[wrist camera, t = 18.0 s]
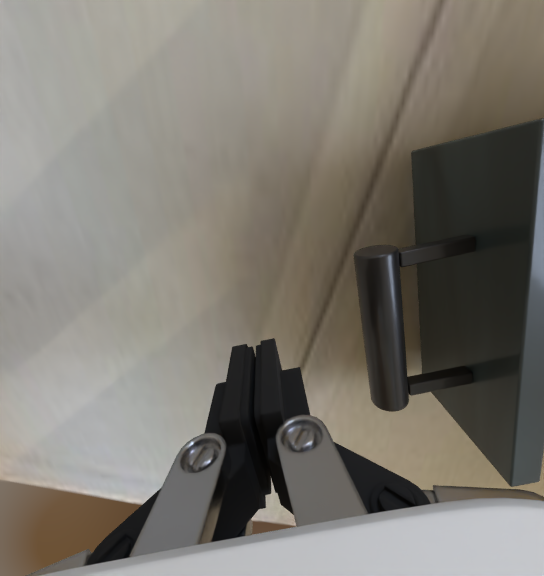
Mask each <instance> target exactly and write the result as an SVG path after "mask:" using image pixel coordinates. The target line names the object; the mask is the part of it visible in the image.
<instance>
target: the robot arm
mask: <svg viewBox="0 0 544 576" xmlns="http://www.w3.org/2000/svg"><path fill="white" fill-rule="evenodd" d="M271 478H272V482H273V485H274V489H275V492H276V493H278V496H279V500H280V503H281V505H282V506H283V507H285V508H286V509H287V510H288V511H290V512H291V513H292V514H293V515H294V518H295V522H296V526H297V527H293V528H287V529H282V530H277V531H271V532H265V533H260V534H254V535H252V520H251V518H252V517H253V516H254V514H255V513H256V512H257V511H258V509H262V508H266V501H265V495H268V494H271ZM26 576H544V497H543V496H540V495H538V494H536V493H534V492H529V491H524V490H519V489H498V488H477V487H456V486H436V485H433V490H421V489H420V488H419V487H418V486H416V485H415V484H413V483H412V482H410V481H408V480H407V479H405V478H403V477H401V476H399V475H397V474H395V473H393V472H391V471H389V470H387V469H385V468H383V467H381V466H379V465H377V464H376V463H374V462H372V461H370V460H368V459H366V458H364V457H362V456H360V455H358V454H356V453H354V452H352V451H350V450H348V449H346V448H344V447H343V446H341V445H339V444H337V443H335V442H333V440H332V438H331V436H330V434H329V432H328V430H327V428H326V426H325V425H324V423H323V422H322V421H321V420H320V419H318V418H317V417H314V416H311V415H310V412H309V407H308V403H307V398H306V394H305V389H304V384H303V380H302V375H301V371H300V367H298V368H293V369H288V370H283V371H282V368H281V364H280V359H279V355H278V351H277V347H276V342H275V339H274V338H273V339H268V340H263V341H261V345H257V346H256V357H255V353H254V350H253V347H248V346H247V344H244V345H239V346H234V347H232V352H231V357H230V363H229V368H228V374H227V379H226V382H223V383H218V384H216V387H215V391H214V395H213V399H212V404H211V408H210V412H209V416H208V421H207V425H206V429H205V433H204V434H201V435H199V436H197V437H195V438H193V439H192V440H190V441H189V442H187V443H186V444H185V445H184V446H183V447H182V448H181V450H180V451H179V453H178V455H177V456H176V458H175V461H174V463H173V465H172V467H171V469H170V471H169V473H168V475H167V477H166V480H165V482H164V484H163V486H162V488H161V489H160V490H158V491H157V492H156V493H155V494H154V495H153V496H152V497H151V498H150V499H148V500H147V501H146V502H145V503H144V504H143V505H142V506H141V507H139V509H137V510H136V511H135V512H134V513H133V514H132V515H130V516H129V517H128V518H127V519H126V520H125V521H124V522H123V523H122V524H120V525H119V526H118V527H117V528H116V529H115V530H114V531H113V532H111V533H110V534H109V535H108V536H107V537H106V538H105V539H104V540H103V541H102V542H101V543H100V544H99V545H98V546H97V548H96V549H95V550H94V552H93V553H91V552H90V550H89V549H87V550H85V551H83V552H80V553H78V554H76V555H73V556H71V557H69V558H66V559H64V560H61V561H59V562H57V563H54V564H52V565H50V566H47V567H45V568H43V569H40V570H38V571H36V572H34V573H31V574H29V575H26Z"/></svg>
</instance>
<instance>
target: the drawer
mask: <svg viewBox="0 0 544 576" xmlns="http://www.w3.org/2000/svg"><path fill="white" fill-rule="evenodd" d="M411 158H412V178H413V198H414V218H415V238H416V245H414V246H409V247H405V248H400V249H398V248H397V247H395V246H391V245H377V246H370V247H366V248H362V249H360V250H358V251H356V252H355V253H354V255H353V256H354V264H355V272H356V280H357V288H358V297H359V305H360V313H361V321H362V329H363V337H364V345H365V354H366V362H367V370H368V378H369V386H370V394H371V400H372V402H373V403H374V405H375V406H377V407H378V408H380V409H382V410H385V411H399V410H402V409H404V408H405V407H406V406H407V404H408V402H409V395H416V394H421V393H426V392H432V394H433V395H434V396H435V397H436V398H437V399H438V401H439V402H440V403H441V404H442V405H443V407H444V408H445V409H446V410H447V411H448V413H449V414H450V415H451V416H452V417H453V419H454V420H455V421H456V422H457V423H458V425H459V426H460V427H461V428H462V429H463V430H464V432H465V433H466V434H467V435H468V436H469V438H470V439H471V440H472V441H473V442H474V444H475V445H476V446H477V447H478V448H479V450H480V451H481V452H482V453H483V454H484V456H485V457H486V458H487V459H488V460H489V461H490V463H491V464H492V465H493V466H494V467H495V469H496V470H497V471H498V472H499V473H500V475H501V476H502V477H503V478H504V479H505V481H506V482H507V483H508V484H509V485H510V486H511V487H513V486H519V485H524V484H530V483H535V482H539V481H540V474H541V466H542V459H543V451H544V118H541V119H537V120H533V121H529V122H525V123H521V124H517V125H513V126H509V127H505V128H501V129H497V130H493V131H489V132H485V133H481V134H477V135H473V136H469V137H466V138H462V139H458V140H454V141H450V142H446V143H442V144H438V145H434V146H430V147H426V148H422V149H418V150H414V151H412V152H411ZM415 264H417V278H418V299H419V319H420V339H421V359H422V374H419V375H414V376H409V377H407V365H406V351H405V336H404V322H403V308H402V294H401V279H400V267H405V266H410V265H415ZM408 393H409V394H408Z"/></svg>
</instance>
